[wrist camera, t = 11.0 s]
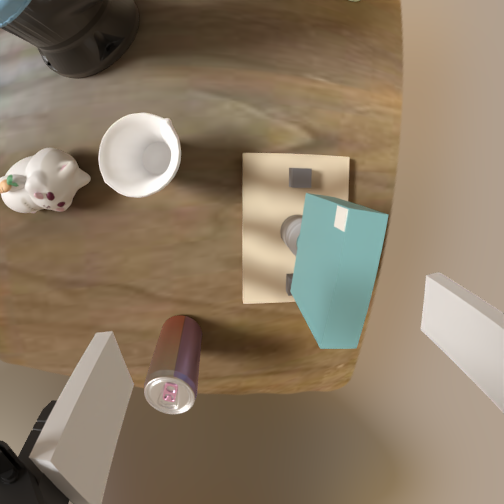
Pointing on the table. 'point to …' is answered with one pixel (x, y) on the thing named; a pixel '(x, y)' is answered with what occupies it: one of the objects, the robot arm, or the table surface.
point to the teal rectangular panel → (336, 267)
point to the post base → (280, 215)
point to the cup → (139, 154)
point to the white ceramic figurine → (42, 182)
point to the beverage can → (175, 366)
